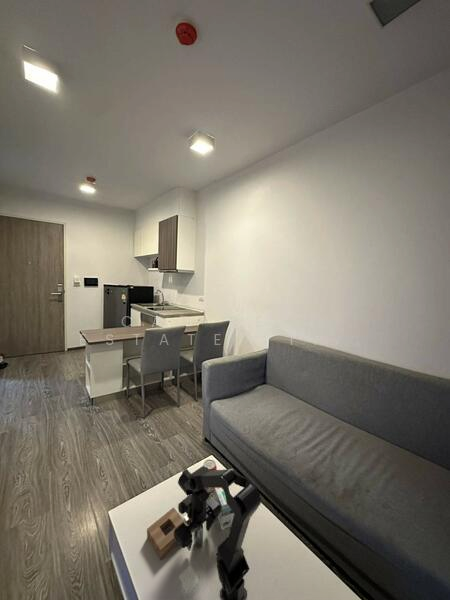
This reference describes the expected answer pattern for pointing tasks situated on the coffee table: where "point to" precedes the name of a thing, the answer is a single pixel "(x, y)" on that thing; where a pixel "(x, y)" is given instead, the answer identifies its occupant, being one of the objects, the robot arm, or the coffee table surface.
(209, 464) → the soda can
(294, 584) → the coffee table surface
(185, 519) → the grey t-shaped block
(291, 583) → the coffee table surface
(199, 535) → the cylinder
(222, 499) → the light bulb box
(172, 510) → the bore block
